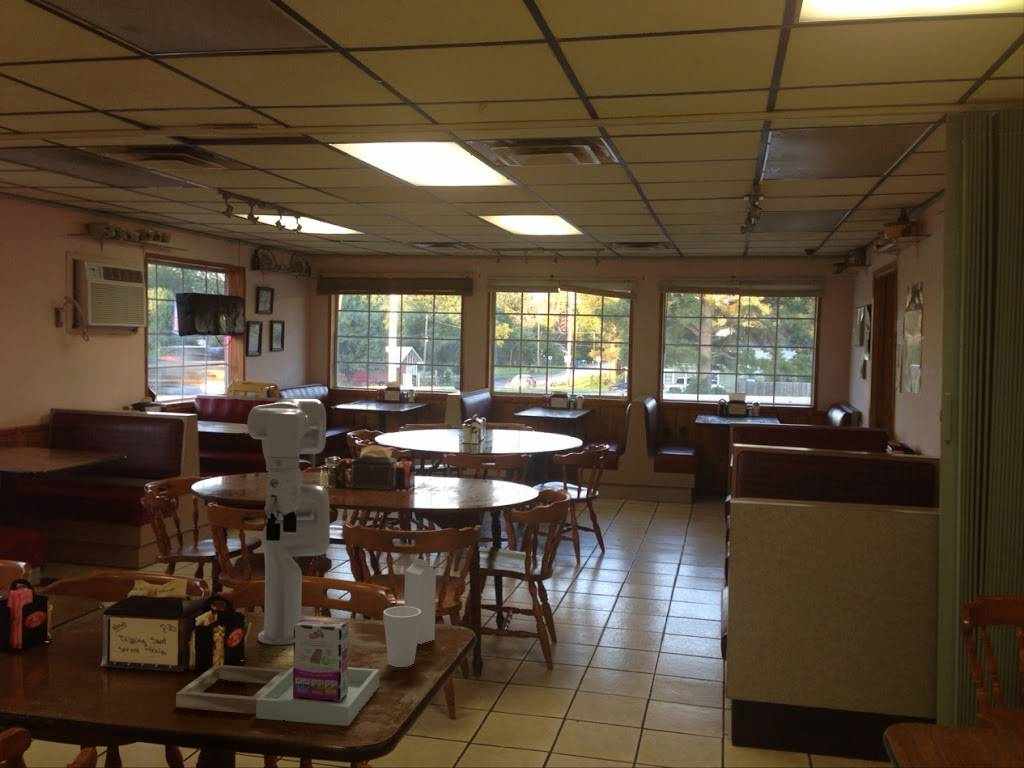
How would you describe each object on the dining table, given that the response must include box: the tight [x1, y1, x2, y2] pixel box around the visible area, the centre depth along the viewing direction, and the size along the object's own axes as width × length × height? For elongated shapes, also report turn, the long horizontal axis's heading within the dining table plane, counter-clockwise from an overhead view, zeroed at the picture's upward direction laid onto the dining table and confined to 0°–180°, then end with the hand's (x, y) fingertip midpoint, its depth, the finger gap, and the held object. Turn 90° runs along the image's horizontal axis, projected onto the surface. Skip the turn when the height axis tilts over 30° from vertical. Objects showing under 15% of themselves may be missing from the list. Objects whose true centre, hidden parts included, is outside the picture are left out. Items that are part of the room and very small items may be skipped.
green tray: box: [255, 666, 380, 727], centre depth 194 cm, size 22×20×4 cm
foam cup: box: [382, 605, 421, 668], centre depth 219 cm, size 10×9×13 cm
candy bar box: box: [292, 618, 349, 702], centre depth 194 cm, size 11×5×16 cm, turn 80°
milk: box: [403, 557, 437, 645], centre depth 237 cm, size 6×6×22 cm
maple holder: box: [175, 664, 290, 715], centre depth 197 cm, size 18×18×3 cm
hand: (281, 536), depth 208 cm, fingers open, 9 cm apart
